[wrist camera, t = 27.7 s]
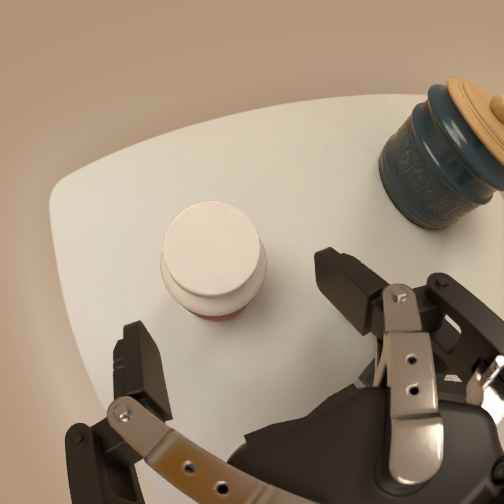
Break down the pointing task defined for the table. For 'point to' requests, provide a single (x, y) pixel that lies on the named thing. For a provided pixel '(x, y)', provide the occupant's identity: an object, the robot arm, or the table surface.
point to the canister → (446, 154)
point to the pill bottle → (213, 260)
